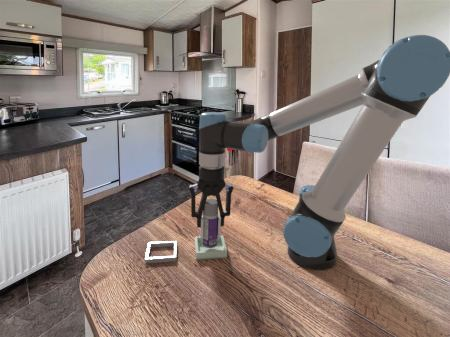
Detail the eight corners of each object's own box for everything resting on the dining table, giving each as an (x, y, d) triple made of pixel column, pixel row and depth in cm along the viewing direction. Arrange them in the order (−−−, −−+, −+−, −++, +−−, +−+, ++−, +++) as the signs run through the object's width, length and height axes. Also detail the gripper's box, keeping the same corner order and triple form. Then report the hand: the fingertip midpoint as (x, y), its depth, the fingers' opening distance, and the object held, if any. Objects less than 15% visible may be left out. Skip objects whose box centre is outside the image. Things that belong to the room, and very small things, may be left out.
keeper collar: (176, 244, 94) (176, 240, 94) (176, 261, 86) (176, 257, 85) (148, 246, 93) (148, 242, 92) (145, 263, 84) (144, 259, 84)
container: (218, 240, 93) (219, 199, 89) (216, 248, 89) (217, 205, 84) (204, 239, 94) (204, 197, 89) (201, 247, 89) (202, 204, 85)
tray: (222, 241, 97) (222, 235, 96) (226, 258, 88) (227, 251, 87) (194, 243, 96) (194, 236, 95) (196, 260, 87) (196, 252, 86)
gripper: (238, 161, 88) (235, 228, 95) (181, 162, 86) (182, 230, 92) (243, 169, 81) (239, 240, 88) (181, 169, 79) (182, 243, 85)
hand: (210, 235), depth 90 cm, fingers closed on container, 5 cm apart
